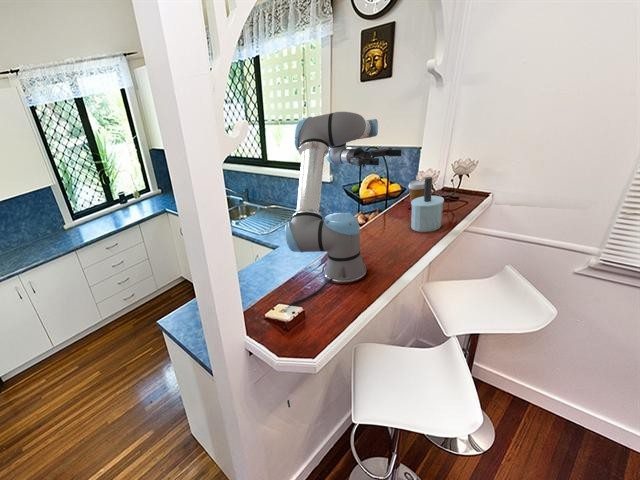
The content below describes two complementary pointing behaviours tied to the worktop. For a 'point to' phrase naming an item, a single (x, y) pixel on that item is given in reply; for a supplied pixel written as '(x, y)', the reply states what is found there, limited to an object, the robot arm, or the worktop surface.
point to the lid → (427, 196)
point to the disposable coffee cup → (416, 189)
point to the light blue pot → (426, 218)
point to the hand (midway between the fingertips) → (389, 157)
